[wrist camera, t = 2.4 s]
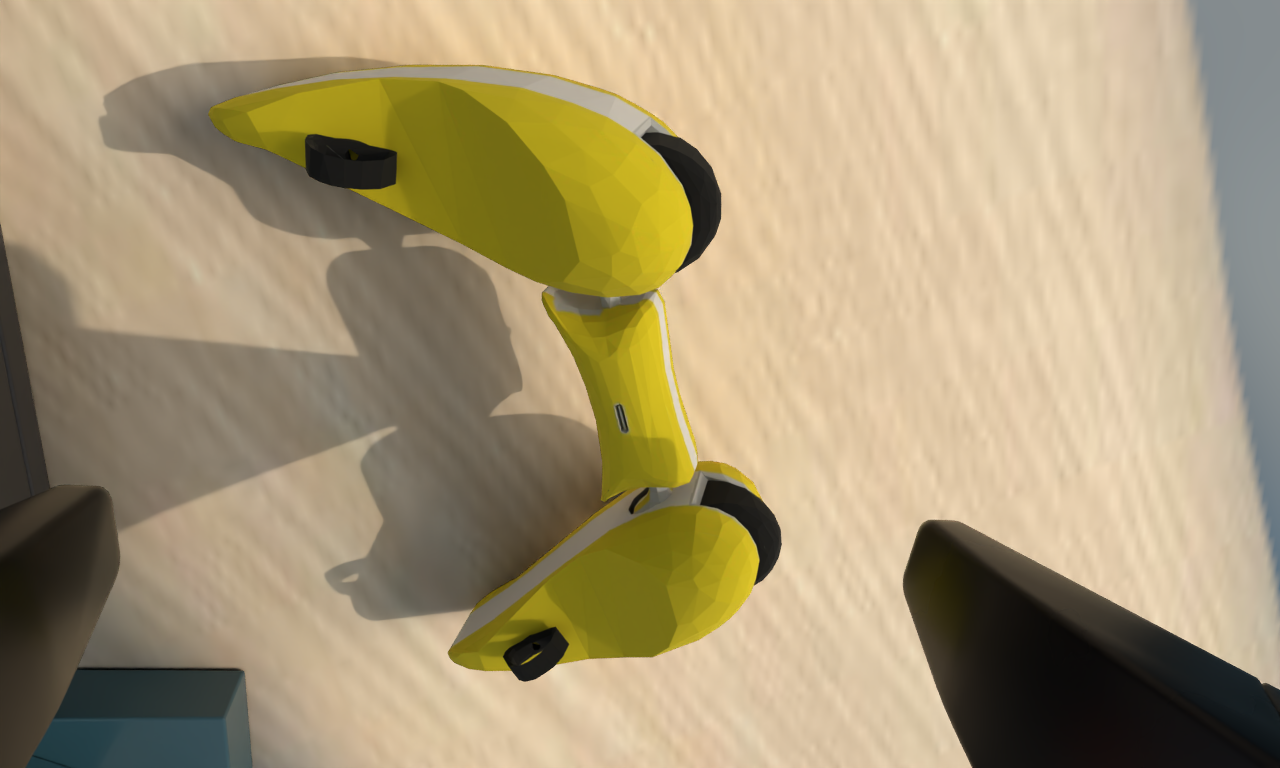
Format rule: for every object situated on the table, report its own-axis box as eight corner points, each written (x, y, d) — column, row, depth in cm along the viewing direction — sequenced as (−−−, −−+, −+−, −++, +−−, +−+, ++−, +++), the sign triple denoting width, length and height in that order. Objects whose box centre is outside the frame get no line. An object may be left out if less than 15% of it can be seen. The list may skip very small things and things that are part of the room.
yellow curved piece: (809, 561, 15) (795, 718, 12) (504, 564, 17) (427, 699, 14) (713, -24, 11) (653, -2, 8) (317, 72, 13) (149, 119, 10)
